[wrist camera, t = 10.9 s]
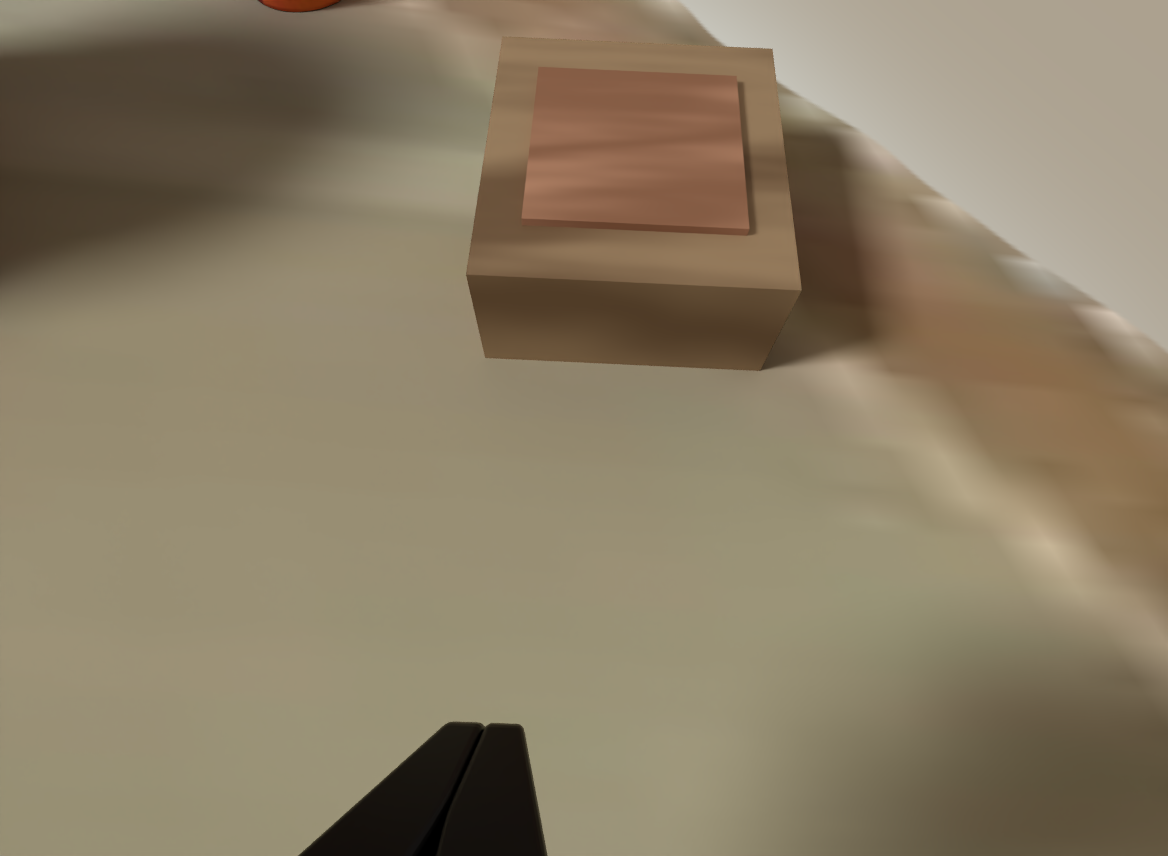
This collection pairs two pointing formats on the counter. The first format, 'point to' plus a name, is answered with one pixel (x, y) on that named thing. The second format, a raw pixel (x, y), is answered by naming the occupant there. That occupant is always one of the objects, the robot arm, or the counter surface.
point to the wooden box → (633, 206)
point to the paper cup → (298, 4)
